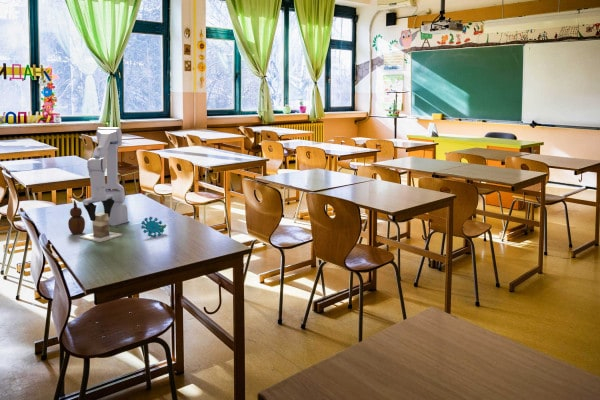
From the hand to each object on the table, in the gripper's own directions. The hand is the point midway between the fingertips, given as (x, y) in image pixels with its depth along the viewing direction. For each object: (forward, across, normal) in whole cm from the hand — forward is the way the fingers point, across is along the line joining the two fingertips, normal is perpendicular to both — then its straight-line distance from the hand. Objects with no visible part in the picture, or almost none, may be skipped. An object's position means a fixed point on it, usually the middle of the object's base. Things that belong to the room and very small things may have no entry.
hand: (100, 218), depth 233 cm
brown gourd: (+8, -2, +13) cm, 15 cm away
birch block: (+3, 0, 0) cm, 3 cm away
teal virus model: (+8, +14, -17) cm, 23 cm away
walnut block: (+7, 0, 0) cm, 7 cm away
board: (+8, 0, 0) cm, 8 cm away
